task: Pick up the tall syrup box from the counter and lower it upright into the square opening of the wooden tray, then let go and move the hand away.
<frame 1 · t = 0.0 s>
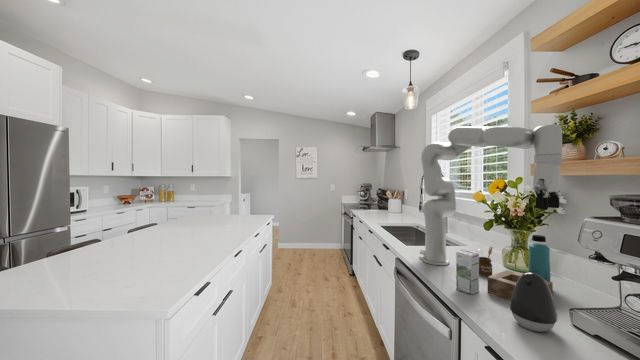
hand: (547, 208, 92), 31 cm above the table, tool pointing down, fingers open, 9 cm apart
beverage bottle: (539, 287, 100), on the table
syrup box: (467, 291, 97), on the table
wooden tray: (519, 296, 92), on the table
brown jar with stick: (484, 274, 113), on the table
dark grey egg shape: (532, 327, 73), on the table
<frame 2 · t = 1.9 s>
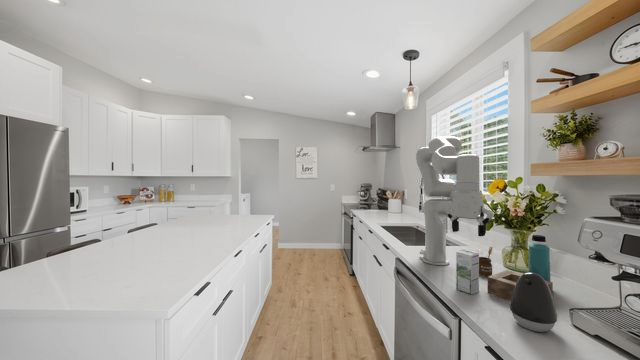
hand: (468, 233, 96), 21 cm above the table, tool pointing down, fingers open, 9 cm apart
nothing on the table moved.
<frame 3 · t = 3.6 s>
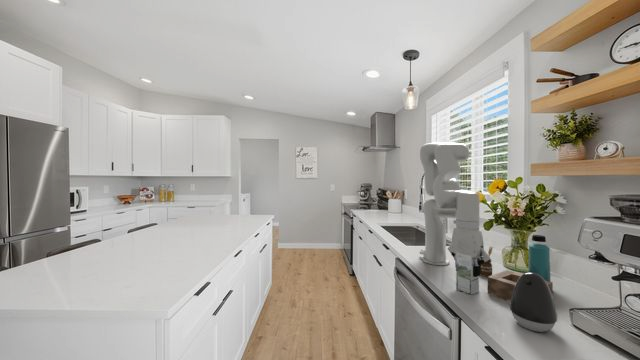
hand: (467, 272, 97), 7 cm above the table, tool pointing down, fingers closed on syrup box, 5 cm apart
syrup box: (467, 291, 97), on the table, touching gripper
everything else where it was.
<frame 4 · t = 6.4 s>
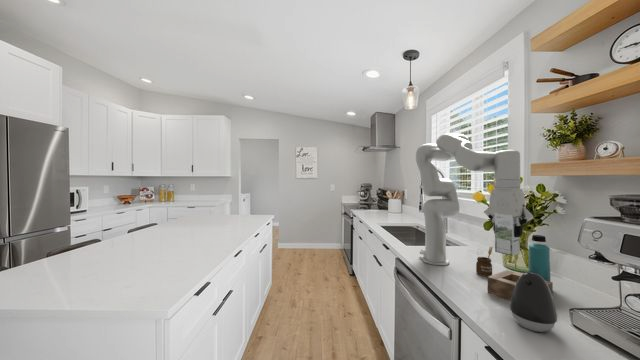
hand: (507, 234, 93), 22 cm above the table, tool pointing down, fingers closed on syrup box, 5 cm apart
syrup box: (507, 253, 93), point 15 cm above the table, touching gripper
everything else where it was.
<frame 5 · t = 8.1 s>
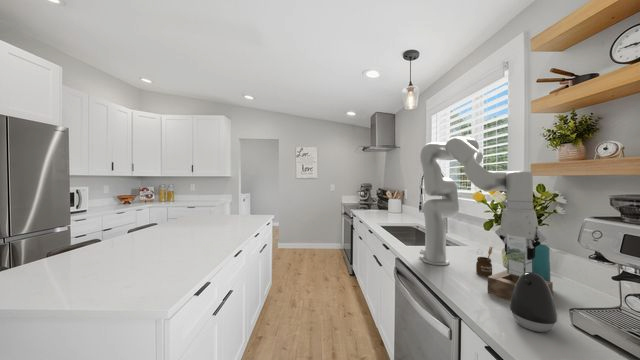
hand: (519, 256, 92), 14 cm above the table, tool pointing down, fingers closed on syrup box, 5 cm apart
syrup box: (519, 275, 92), point 7 cm above the table, touching gripper
everything else where it was.
when the fingers open (9 cm above the table, at t = 9.5 s): syrup box drops 1 cm, resting on wooden tray.
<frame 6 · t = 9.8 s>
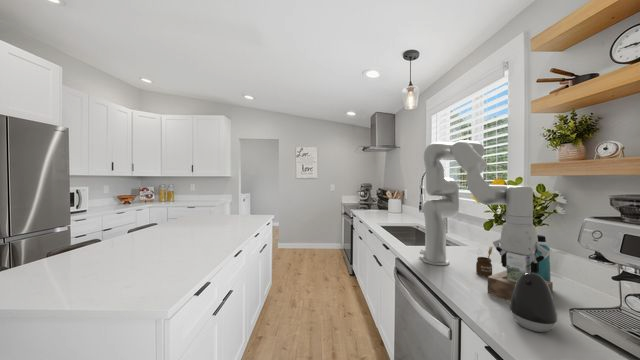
hand: (519, 269, 92), 10 cm above the table, tool pointing down, fingers open, 8 cm apart
syrup box: (519, 294, 92), point 1 cm above the table, touching wooden tray
everything else where it was.
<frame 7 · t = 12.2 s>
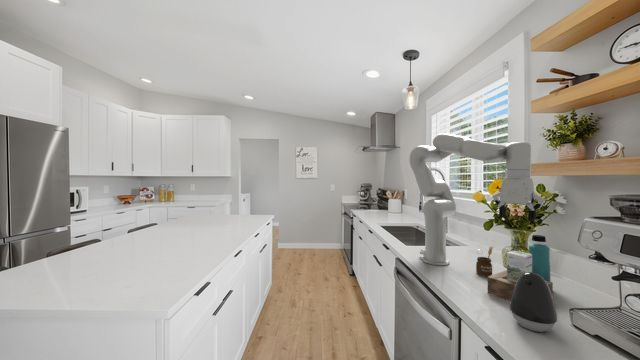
hand: (516, 219, 100), 26 cm above the table, tool pointing down, fingers open, 9 cm apart
nothing on the table moved.
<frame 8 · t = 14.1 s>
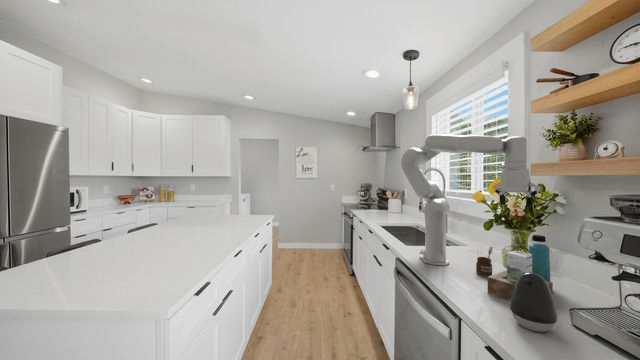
hand: (515, 205, 111), 30 cm above the table, tool pointing down, fingers open, 9 cm apart
nothing on the table moved.
at the end: syrup box 0.1 cm off-centre on the wooden tray, point 0.8 cm above the wooden tray's base; syrup box tilted 0°; the gripper is holding nothing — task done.
